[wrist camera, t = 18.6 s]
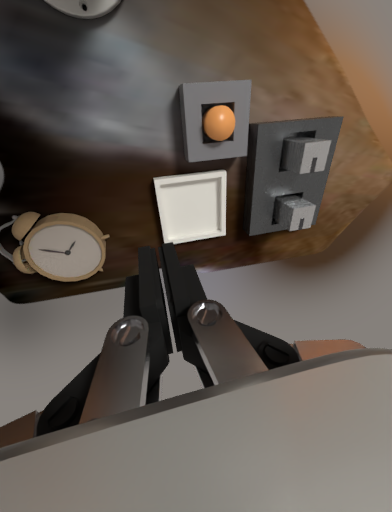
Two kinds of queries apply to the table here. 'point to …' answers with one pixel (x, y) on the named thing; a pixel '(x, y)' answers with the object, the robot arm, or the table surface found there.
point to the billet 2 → (293, 212)
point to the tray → (192, 205)
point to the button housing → (194, 107)
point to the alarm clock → (57, 246)
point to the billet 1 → (304, 154)
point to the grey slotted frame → (282, 169)
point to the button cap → (218, 122)
